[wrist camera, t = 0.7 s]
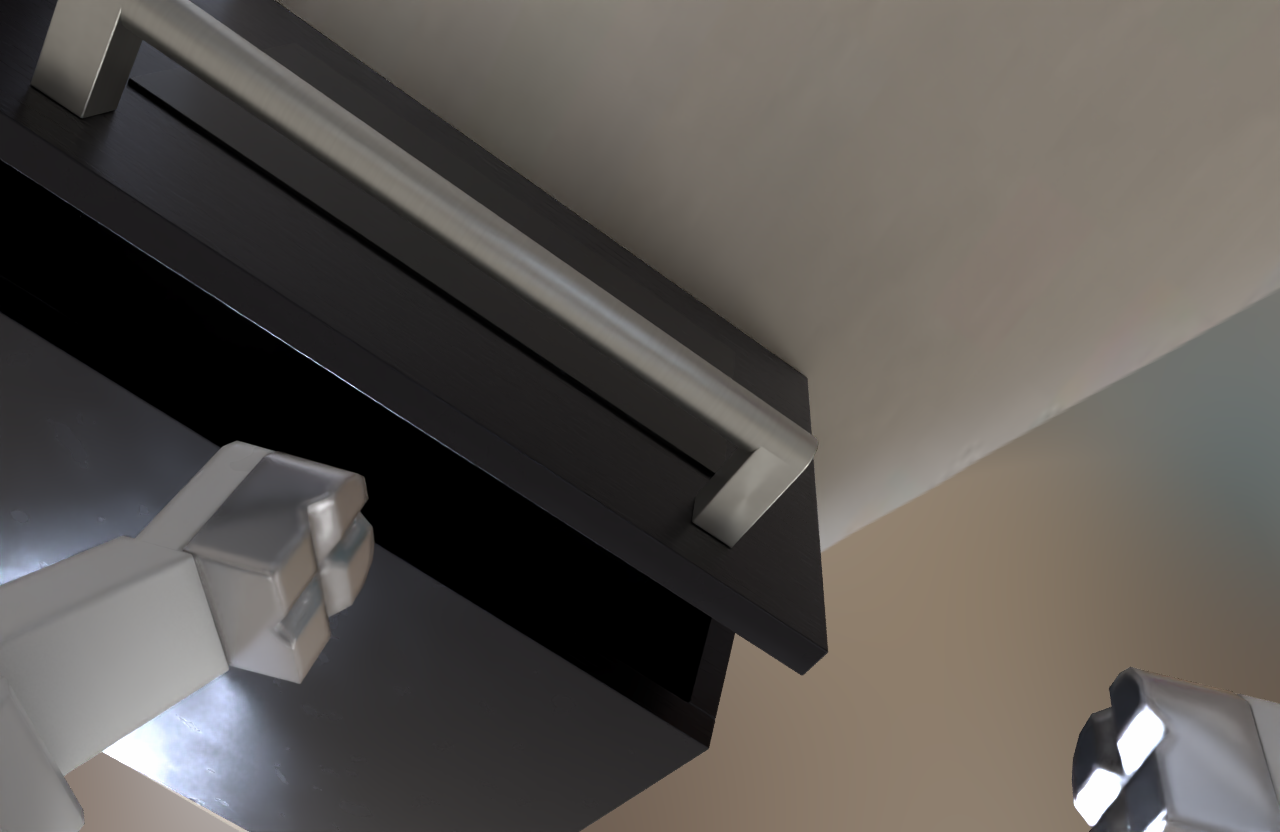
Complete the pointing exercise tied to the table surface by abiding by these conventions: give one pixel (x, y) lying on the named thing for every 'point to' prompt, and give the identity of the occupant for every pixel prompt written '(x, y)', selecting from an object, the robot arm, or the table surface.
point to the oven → (394, 588)
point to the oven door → (431, 286)
